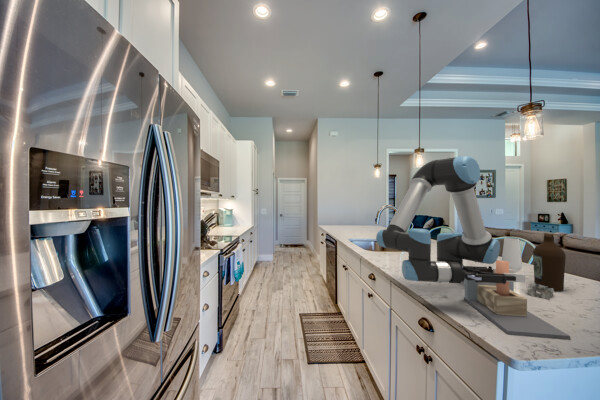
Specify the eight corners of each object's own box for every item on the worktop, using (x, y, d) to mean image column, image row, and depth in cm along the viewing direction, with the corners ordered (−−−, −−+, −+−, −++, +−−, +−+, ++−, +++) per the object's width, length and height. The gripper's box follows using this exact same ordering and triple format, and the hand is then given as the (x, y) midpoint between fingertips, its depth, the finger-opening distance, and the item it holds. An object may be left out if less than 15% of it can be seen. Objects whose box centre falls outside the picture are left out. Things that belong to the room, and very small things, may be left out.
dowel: (496, 307, 86) (495, 261, 87) (496, 304, 89) (495, 259, 90) (510, 309, 84) (509, 262, 85) (509, 306, 87) (508, 261, 87)
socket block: (526, 316, 81) (527, 298, 81) (496, 314, 83) (496, 296, 83) (503, 302, 93) (503, 286, 93) (477, 300, 95) (477, 284, 95)
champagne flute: (497, 294, 103) (497, 238, 104) (507, 292, 106) (507, 237, 106) (516, 300, 97) (516, 240, 97) (526, 298, 100) (526, 239, 100)
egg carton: (549, 301, 98) (549, 290, 98) (524, 294, 104) (524, 285, 104) (555, 295, 104) (555, 285, 104) (532, 289, 110) (532, 280, 110)
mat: (570, 339, 70) (570, 336, 70) (507, 334, 73) (507, 330, 73) (508, 302, 96) (508, 299, 96) (463, 299, 98) (463, 297, 98)
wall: (513, 302, 93) (513, 281, 93) (467, 299, 95) (467, 279, 95) (509, 300, 95) (509, 279, 95) (464, 297, 98) (464, 277, 98)
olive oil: (557, 285, 115) (557, 232, 115) (571, 293, 105) (571, 235, 106) (528, 282, 119) (528, 231, 120) (539, 289, 110) (539, 234, 110)
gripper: (437, 275, 99) (502, 278, 95) (458, 291, 82) (538, 296, 78) (437, 256, 99) (502, 259, 95) (458, 268, 82) (538, 272, 78)
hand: (518, 275), depth 87 cm, fingers open, 5 cm apart
